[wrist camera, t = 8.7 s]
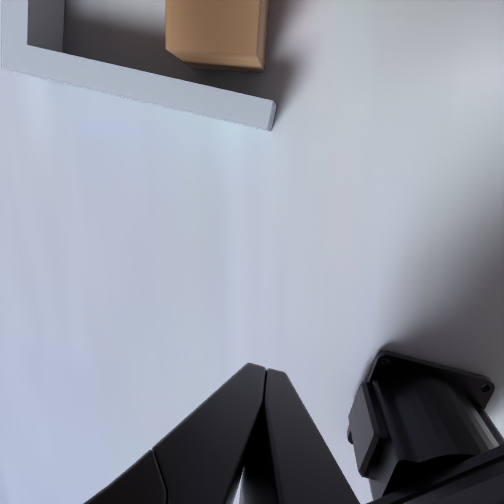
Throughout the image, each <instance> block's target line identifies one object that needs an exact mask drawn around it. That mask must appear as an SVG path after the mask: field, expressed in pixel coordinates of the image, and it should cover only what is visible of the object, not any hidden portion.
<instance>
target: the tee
mask: <svg viewBox="0 0 504 504" xmlns="http://www.w3.org/2000/svg"><path fill="white" fill-rule="evenodd" d="M268 14H269V0H166V50H167V51H169V52H170V53H172V54H173V55H174V56H176V57H177V58H179V59H180V60H182V61H183V62H184V63H186V64H187V65H189V66H190V67H191V68H193V69H209V70H227V71H245V72H263V73H264V69H265V55H266V41H267V27H268Z"/></svg>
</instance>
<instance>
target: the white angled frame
mask: <svg viewBox="0 0 504 504" xmlns="http://www.w3.org/2000/svg"><path fill="white" fill-rule="evenodd" d="M64 9H65V0H2V23H1V69H5V70H9V71H13V72H17V73H22V74H26V75H30V76H34V77H38V78H42V79H47V80H51V81H55V82H60V83H64V84H68V85H73V86H77V87H81V88H86V89H90V90H94V91H98V92H103V93H107V94H111V95H116V96H120V97H124V98H129V99H133V100H137V101H142V102H146V103H150V104H155V105H159V106H163V107H168V108H172V109H176V110H181V111H185V112H189V113H194V114H198V115H202V116H207V117H211V118H215V119H220V120H224V121H228V122H232V123H237V124H241V125H245V126H250V127H254V128H258V129H263V130H267V131H271V129H272V125H273V120H274V116H275V111H276V107H277V106H276V104H275V103H274V101H272V100H268V99H263V98H259V97H255V96H250V95H246V94H241V93H237V92H233V91H228V90H224V89H219V88H215V87H211V86H206V85H202V84H197V83H193V82H189V81H184V80H180V79H175V78H171V77H166V76H162V75H158V74H153V73H149V72H144V71H140V70H136V69H131V68H127V67H122V66H118V65H114V64H109V63H105V62H100V61H96V60H91V59H87V58H83V57H78V56H74V55H69V54H65V53H62V49H63V29H64Z"/></svg>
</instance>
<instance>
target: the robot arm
mask: <svg viewBox="0 0 504 504" xmlns="http://www.w3.org/2000/svg"><path fill="white" fill-rule="evenodd" d="M383 359H389V360H388V362H381V361H382V360H383ZM484 384H486V386H485V387H482V388H480V387H481V386H482V385H484ZM494 389H495V387H494V384H493V383H492V382H491V380H490V379H489V378H487V377H485V376H482V375H478V374H474V373H470V372H466V371H462V370H458V369H455V368H451V367H447V366H443V365H439V364H435V363H431V362H427V361H424V360H420V359H416V358H412V357H408V356H404V355H400V354H397V353H393V352H389V351H381V352H379V353H378V354H377V355H376V357H375V360H374V362H373V365H372V367H371V370H370V373H369V375H368V378H367V381H364V382H363V383H361V384H360V387H359V389H358V392H357V395H356V397H355V400H354V403H353V405H352V408H351V411H350V413H349V423H350V425H349V428H348V431H347V437H348V441H349V442H350V443H351V444H353V445H354V451H355V456H356V462H357V467H358V471H359V473H360V475H361V476H362V477H365V478H369V483H370V488H371V493H372V498H373V501H371V502H369V503H367V504H504V438H503V437H502V435H501V434H500V432H499V431H498V429H497V428H496V427H495V425H494V424H493V422H492V421H491V419H490V418H489V416H488V415H487V413H486V412H485V411H484V409H485V407H486V405H487V403H488V401H489V399H490V397H491V395H492V394H493V392H494ZM242 472H243V474H242ZM241 476H242V480H241V489H240V501H239V504H360V503H359V501H358V499H357V498H356V496H355V494H354V492H353V490H352V489H351V487H350V485H349V483H348V482H347V480H346V478H345V476H344V475H343V473H342V471H341V469H340V468H339V466H338V464H337V462H336V461H335V459H334V457H333V455H332V453H331V452H330V450H329V448H328V446H327V445H326V443H325V441H324V439H323V438H322V436H321V434H320V432H319V431H318V429H317V427H316V425H315V424H314V422H313V420H312V418H311V416H310V415H309V413H308V411H307V409H306V408H305V406H304V404H303V402H302V401H301V399H300V397H299V395H298V394H297V392H296V390H295V388H294V387H293V385H292V383H291V381H290V379H289V378H288V376H287V374H286V373H285V372H282V371H278V370H274V369H271V368H269V369H267V370H266V368H265V367H263V366H260V365H256V364H252V363H247V364H246V365H245V366H243V367H242V368H241V369H240V370H239V371H238V372H237V373H236V374H234V375H233V376H232V377H231V378H230V379H229V380H228V381H227V382H225V383H224V384H223V385H222V386H221V387H220V388H219V389H218V390H217V391H215V392H214V393H213V394H212V395H211V396H210V397H209V398H208V399H206V400H205V401H204V402H203V403H202V404H201V405H200V406H199V407H197V408H196V409H195V410H194V411H193V412H192V413H191V414H190V415H188V416H187V417H186V418H185V419H184V420H183V421H182V422H181V423H179V424H178V425H177V426H176V427H175V428H174V429H173V430H172V431H170V432H169V433H168V434H167V435H166V436H165V437H164V438H163V439H161V440H160V441H159V442H158V443H157V444H156V445H155V446H154V447H153V448H152V450H149V451H148V452H147V453H145V454H144V455H143V456H142V457H141V458H140V459H139V460H138V461H137V462H135V463H134V464H133V465H132V466H131V467H130V468H128V469H127V470H126V471H125V472H124V473H122V474H121V475H120V476H119V477H118V478H116V479H115V480H114V481H113V482H112V483H110V484H109V485H108V486H107V487H105V488H104V489H102V490H101V491H100V492H98V493H97V494H96V495H94V496H93V497H92V498H90V499H89V500H88V501H86V502H85V503H83V504H233V502H234V498H235V495H236V492H237V489H238V486H239V482H240V479H241Z"/></svg>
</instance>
